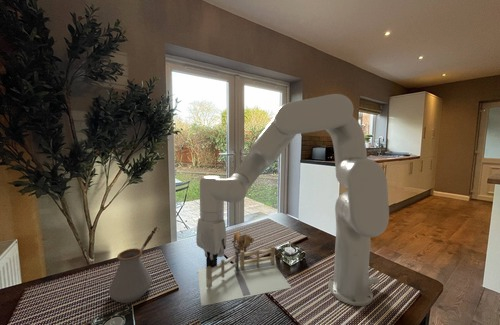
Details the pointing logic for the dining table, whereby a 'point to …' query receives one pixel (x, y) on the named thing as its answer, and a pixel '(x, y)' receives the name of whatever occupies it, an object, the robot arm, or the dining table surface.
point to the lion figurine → (242, 241)
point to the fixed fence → (271, 258)
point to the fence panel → (221, 274)
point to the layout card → (241, 282)
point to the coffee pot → (131, 275)
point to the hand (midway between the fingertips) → (211, 268)
